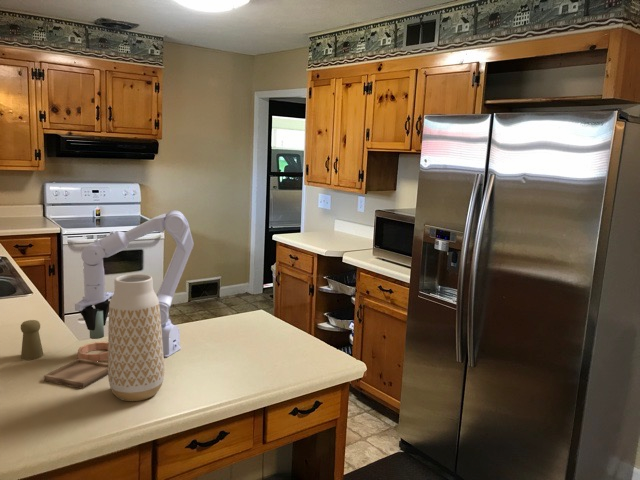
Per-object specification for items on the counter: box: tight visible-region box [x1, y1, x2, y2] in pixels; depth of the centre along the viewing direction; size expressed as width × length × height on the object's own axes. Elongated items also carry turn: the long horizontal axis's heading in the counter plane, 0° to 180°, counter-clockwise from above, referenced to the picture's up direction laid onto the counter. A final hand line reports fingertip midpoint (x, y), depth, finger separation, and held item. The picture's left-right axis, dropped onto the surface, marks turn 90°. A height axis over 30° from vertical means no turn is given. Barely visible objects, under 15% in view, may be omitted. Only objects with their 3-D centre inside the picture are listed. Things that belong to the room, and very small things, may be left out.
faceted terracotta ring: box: [77, 341, 108, 362], centre depth 164 cm, size 11×11×2 cm
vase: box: [107, 273, 165, 402], centre depth 138 cm, size 14×14×31 cm
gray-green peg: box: [88, 309, 105, 340], centre depth 163 cm, size 4×4×8 cm
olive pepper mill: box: [20, 319, 45, 361], centre depth 161 cm, size 6×6×11 cm
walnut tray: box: [43, 358, 108, 389], centre depth 150 cm, size 13×13×2 cm
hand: (96, 327), depth 163 cm, fingers closed on gray-green peg, 4 cm apart
